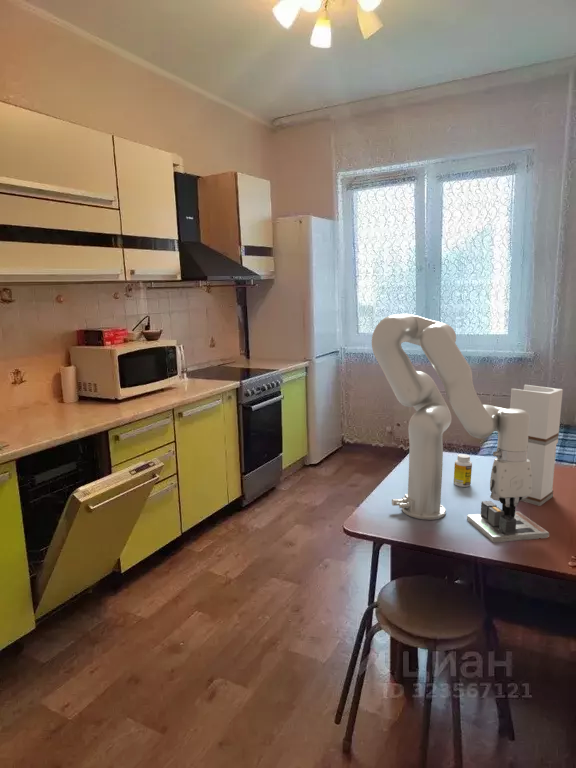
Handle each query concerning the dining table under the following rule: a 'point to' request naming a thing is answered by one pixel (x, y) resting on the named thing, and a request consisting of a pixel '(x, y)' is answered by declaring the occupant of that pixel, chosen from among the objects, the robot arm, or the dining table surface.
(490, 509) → the block
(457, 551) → the dining table surface
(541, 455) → the tall open white box
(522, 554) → the dining table surface
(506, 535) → the panel
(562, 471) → the dining table surface
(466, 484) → the supplement bottle
